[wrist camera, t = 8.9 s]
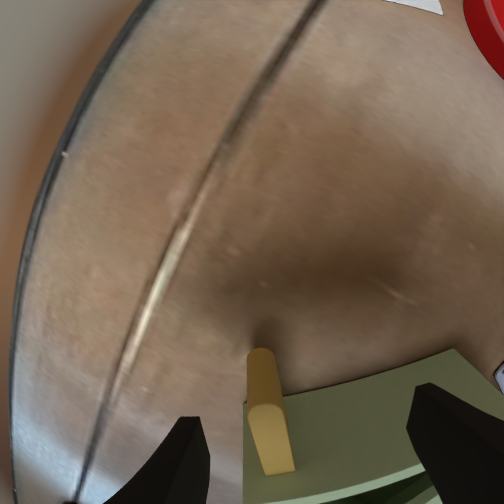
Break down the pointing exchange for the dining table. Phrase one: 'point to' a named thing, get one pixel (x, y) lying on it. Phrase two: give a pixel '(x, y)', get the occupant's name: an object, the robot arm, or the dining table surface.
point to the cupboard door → (342, 429)
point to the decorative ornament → (487, 29)
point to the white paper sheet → (422, 4)
